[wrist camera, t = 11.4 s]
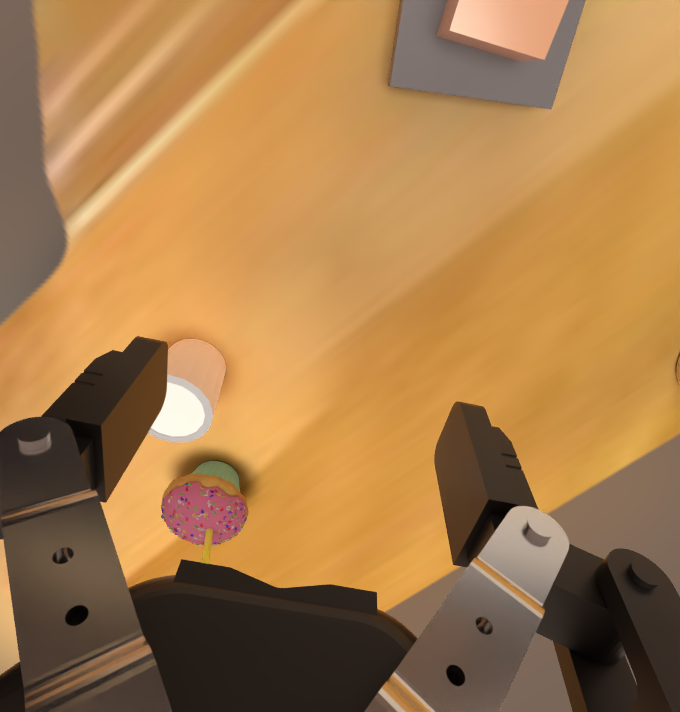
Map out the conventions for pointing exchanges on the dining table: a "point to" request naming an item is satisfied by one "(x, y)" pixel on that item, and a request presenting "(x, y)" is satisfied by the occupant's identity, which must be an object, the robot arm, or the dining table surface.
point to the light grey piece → (190, 391)
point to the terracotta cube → (503, 26)
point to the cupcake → (205, 506)
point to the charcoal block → (474, 60)
